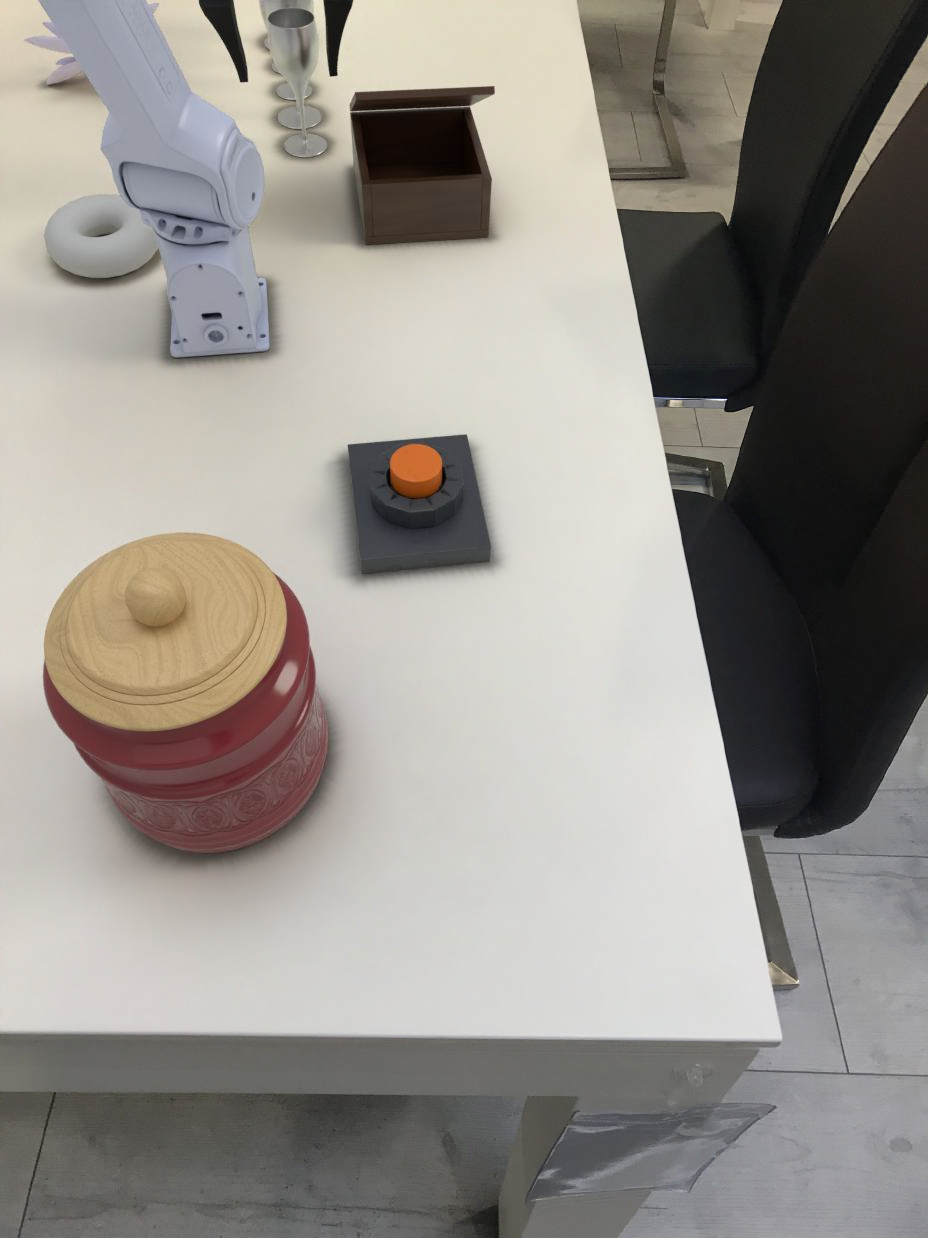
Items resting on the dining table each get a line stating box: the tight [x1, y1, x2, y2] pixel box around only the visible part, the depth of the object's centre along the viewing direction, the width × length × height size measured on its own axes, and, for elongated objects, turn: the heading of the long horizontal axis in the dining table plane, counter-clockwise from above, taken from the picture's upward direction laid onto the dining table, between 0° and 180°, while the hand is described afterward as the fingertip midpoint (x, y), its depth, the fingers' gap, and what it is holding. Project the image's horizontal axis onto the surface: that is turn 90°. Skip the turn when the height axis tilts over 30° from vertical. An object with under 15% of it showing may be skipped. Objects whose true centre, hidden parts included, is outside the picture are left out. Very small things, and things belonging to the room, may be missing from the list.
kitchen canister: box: [42, 532, 329, 854], centre depth 48 cm, size 13×13×18 cm
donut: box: [43, 193, 159, 279], centre depth 81 cm, size 10×3×10 cm
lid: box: [349, 85, 496, 112], centre depth 81 cm, size 13×12×1 cm
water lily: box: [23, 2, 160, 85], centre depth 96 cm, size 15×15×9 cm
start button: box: [390, 444, 442, 498], centre depth 63 cm, size 4×4×2 cm
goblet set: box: [258, 0, 328, 158], centre depth 95 cm, size 28×6×13 cm, turn 12°
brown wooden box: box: [349, 106, 493, 246], centre depth 86 cm, size 13×12×6 cm
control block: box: [347, 433, 492, 575], centre depth 65 cm, size 11×9×4 cm
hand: (288, 73), depth 79 cm, fingers open, 7 cm apart
